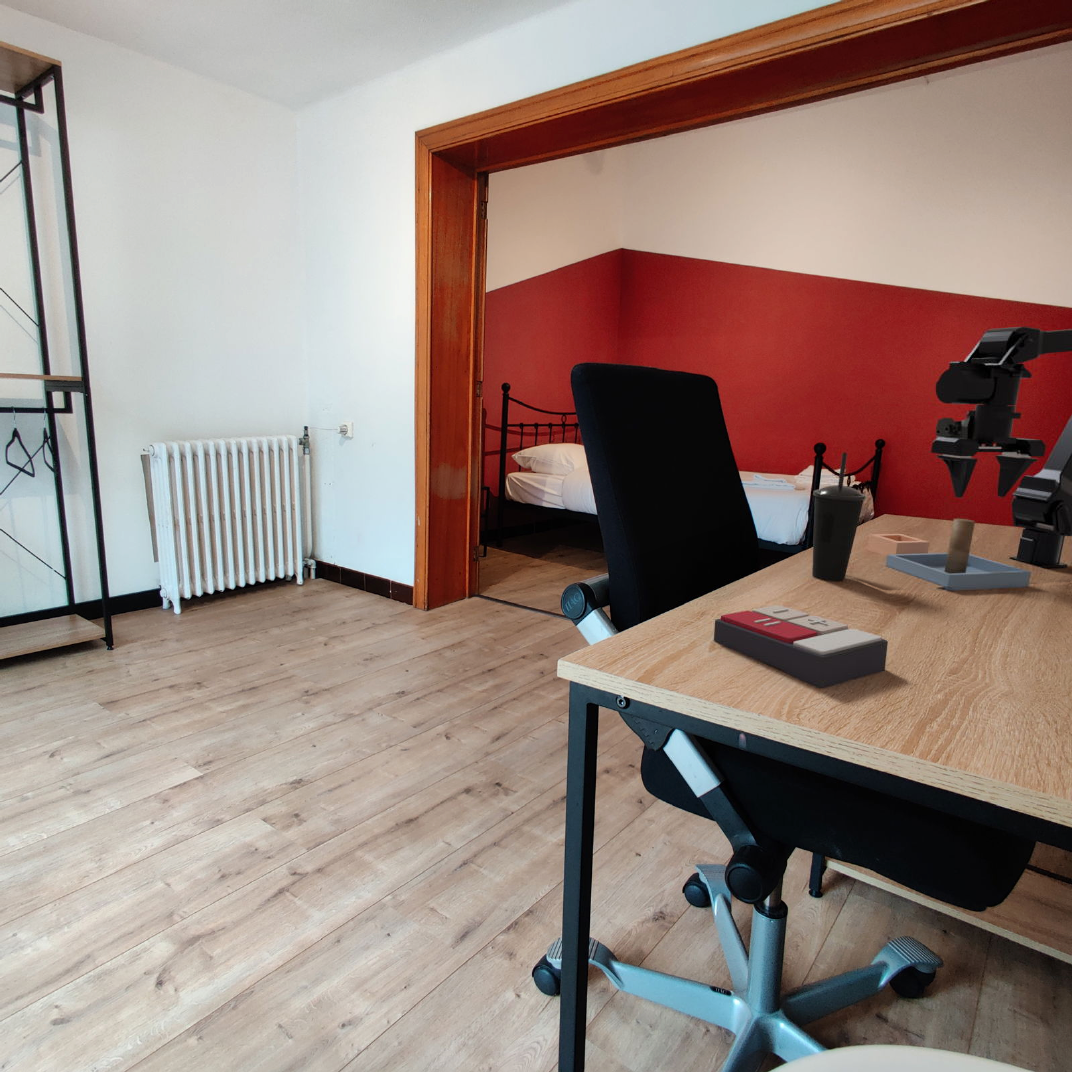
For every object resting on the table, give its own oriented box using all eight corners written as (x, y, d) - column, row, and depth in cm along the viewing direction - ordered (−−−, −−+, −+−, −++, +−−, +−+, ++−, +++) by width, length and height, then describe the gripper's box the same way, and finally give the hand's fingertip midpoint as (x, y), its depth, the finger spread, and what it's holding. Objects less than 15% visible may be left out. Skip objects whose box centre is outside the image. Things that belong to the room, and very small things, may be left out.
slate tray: (960, 565, 124) (962, 552, 124) (1028, 586, 112) (1031, 571, 111) (885, 568, 120) (887, 554, 119) (946, 590, 108) (949, 575, 107)
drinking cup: (862, 584, 109) (881, 456, 105) (813, 582, 109) (829, 454, 105) (842, 571, 117) (859, 451, 112) (796, 570, 117) (811, 449, 112)
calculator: (777, 601, 88) (890, 633, 75) (775, 634, 88) (886, 672, 76) (713, 613, 82) (824, 650, 69) (711, 648, 83) (820, 691, 70)
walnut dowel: (954, 571, 118) (963, 518, 116) (969, 576, 115) (979, 522, 113) (940, 571, 117) (949, 518, 115) (954, 576, 114) (964, 522, 112)
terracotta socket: (897, 551, 134) (900, 533, 133) (926, 560, 127) (929, 542, 126) (866, 552, 132) (869, 534, 131) (894, 561, 125) (897, 542, 124)
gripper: (997, 404, 128) (982, 489, 131) (913, 402, 123) (900, 490, 126) (1055, 407, 117) (1038, 499, 121) (966, 404, 112) (951, 500, 116)
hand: (979, 497), depth 121 cm, fingers open, 9 cm apart
